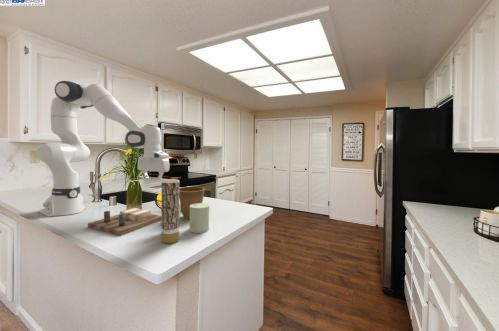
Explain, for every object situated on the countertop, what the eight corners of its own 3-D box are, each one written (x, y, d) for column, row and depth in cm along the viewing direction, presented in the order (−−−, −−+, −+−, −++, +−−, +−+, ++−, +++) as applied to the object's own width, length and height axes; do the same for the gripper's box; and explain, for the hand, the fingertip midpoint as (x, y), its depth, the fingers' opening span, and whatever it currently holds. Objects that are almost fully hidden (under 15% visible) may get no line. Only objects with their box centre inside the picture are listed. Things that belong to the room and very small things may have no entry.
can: (198, 224, 110) (198, 201, 110) (213, 228, 106) (213, 203, 105) (185, 230, 102) (185, 205, 101) (200, 234, 98) (200, 208, 97)
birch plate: (120, 217, 112) (120, 211, 112) (133, 213, 119) (133, 207, 119) (137, 220, 107) (137, 214, 107) (150, 216, 115) (150, 210, 115)
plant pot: (197, 212, 132) (198, 185, 131) (208, 218, 120) (209, 189, 119) (172, 215, 124) (172, 187, 122) (181, 223, 112) (181, 192, 110)
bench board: (87, 227, 102) (87, 212, 102) (132, 214, 125) (132, 201, 124) (121, 235, 94) (121, 219, 94) (162, 219, 116) (162, 206, 116)
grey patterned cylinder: (173, 245, 87) (173, 182, 85) (157, 243, 88) (157, 181, 86) (182, 238, 93) (182, 179, 91) (167, 236, 95) (167, 178, 93)
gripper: (134, 153, 123) (134, 178, 124) (162, 154, 115) (162, 181, 116) (143, 153, 129) (143, 177, 130) (171, 154, 121) (171, 179, 122)
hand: (153, 179), depth 123 cm, fingers open, 8 cm apart
